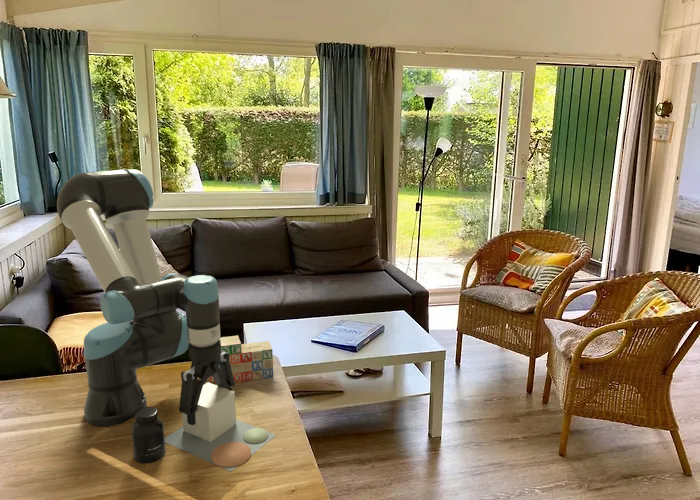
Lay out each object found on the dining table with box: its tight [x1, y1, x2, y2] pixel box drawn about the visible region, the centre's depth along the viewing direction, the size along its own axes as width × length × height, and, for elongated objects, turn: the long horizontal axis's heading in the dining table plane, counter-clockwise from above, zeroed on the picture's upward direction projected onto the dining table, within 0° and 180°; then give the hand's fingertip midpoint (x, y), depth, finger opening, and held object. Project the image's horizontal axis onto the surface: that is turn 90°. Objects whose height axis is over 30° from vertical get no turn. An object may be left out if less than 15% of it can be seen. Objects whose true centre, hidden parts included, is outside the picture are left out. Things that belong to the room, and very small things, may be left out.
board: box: [164, 419, 277, 473], centre depth 131 cm, size 22×16×5 cm
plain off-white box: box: [181, 382, 237, 442], centre depth 135 cm, size 9×9×9 cm
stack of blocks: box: [198, 335, 274, 384], centre depth 162 cm, size 21×6×12 cm, turn 108°
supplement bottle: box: [131, 406, 166, 465], centre depth 124 cm, size 7×7×12 cm
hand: (209, 424), depth 136 cm, fingers closed on plain off-white box, 9 cm apart
